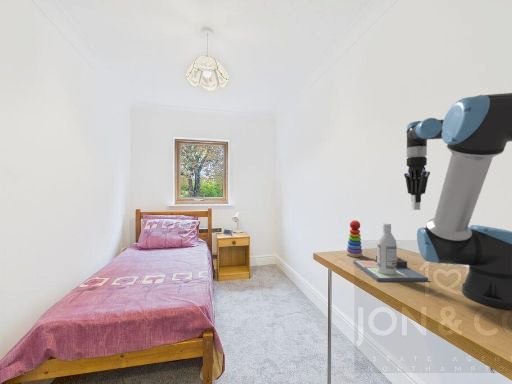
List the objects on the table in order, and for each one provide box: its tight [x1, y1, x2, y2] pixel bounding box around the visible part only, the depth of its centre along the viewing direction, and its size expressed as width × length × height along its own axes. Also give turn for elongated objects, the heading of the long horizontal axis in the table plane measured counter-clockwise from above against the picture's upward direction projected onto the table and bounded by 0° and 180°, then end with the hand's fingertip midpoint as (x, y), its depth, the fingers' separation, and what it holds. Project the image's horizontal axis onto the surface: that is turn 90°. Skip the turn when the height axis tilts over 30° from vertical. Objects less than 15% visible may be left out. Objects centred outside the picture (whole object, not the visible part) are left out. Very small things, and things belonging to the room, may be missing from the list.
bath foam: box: [376, 223, 398, 275], centre depth 98 cm, size 7×7×20 cm
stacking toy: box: [346, 219, 363, 258], centre depth 127 cm, size 8×8×19 cm
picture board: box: [352, 255, 429, 282], centre depth 104 cm, size 22×20×4 cm
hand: (416, 209), depth 108 cm, fingers closed
